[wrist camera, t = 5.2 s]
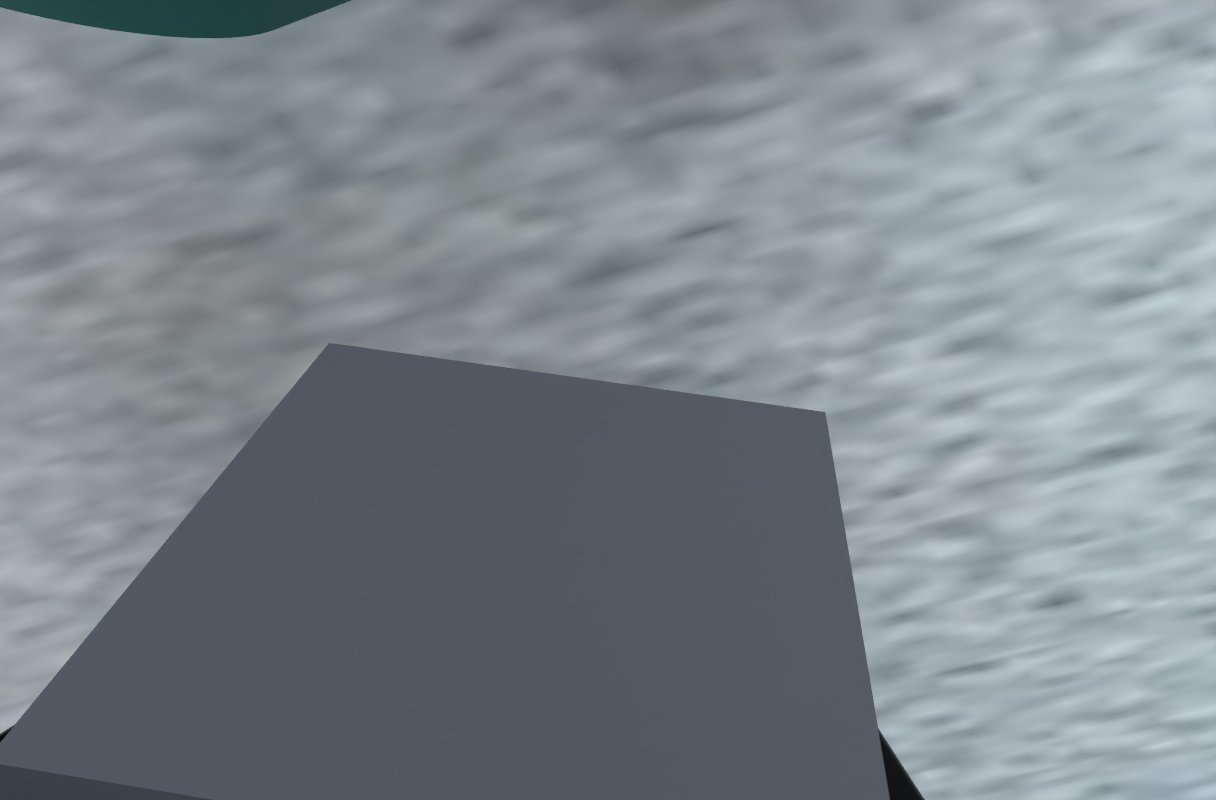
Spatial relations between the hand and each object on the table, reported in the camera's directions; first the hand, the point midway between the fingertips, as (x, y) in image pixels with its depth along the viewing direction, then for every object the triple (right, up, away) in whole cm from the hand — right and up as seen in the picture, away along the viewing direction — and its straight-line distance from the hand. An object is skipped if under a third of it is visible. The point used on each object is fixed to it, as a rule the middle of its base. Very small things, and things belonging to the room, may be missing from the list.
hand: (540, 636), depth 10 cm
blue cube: (0, +1, +1) cm, 1 cm away
